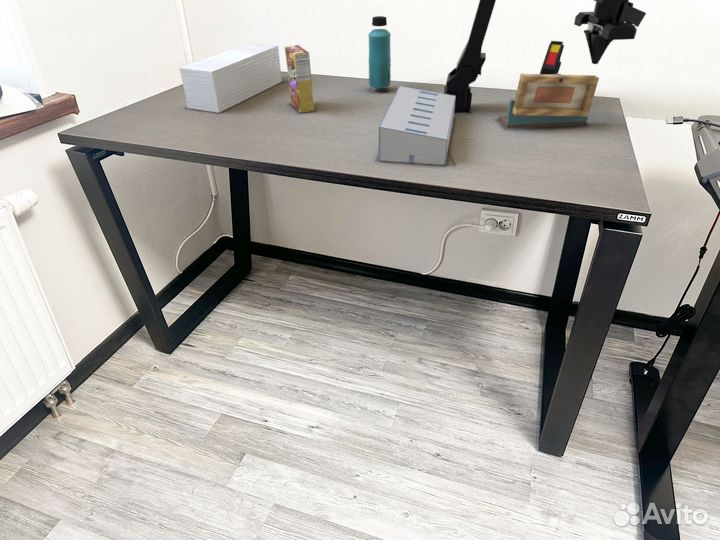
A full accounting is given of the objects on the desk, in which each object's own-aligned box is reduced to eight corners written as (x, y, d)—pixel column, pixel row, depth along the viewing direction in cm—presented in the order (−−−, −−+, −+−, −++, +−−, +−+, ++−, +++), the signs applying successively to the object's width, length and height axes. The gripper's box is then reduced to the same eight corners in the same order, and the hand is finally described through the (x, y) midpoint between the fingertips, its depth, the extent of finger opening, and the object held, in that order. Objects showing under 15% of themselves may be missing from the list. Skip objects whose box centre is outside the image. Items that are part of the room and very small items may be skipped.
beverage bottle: (390, 93, 152) (392, 18, 141) (368, 93, 152) (367, 19, 141) (390, 86, 158) (391, 14, 146) (368, 87, 158) (367, 14, 146)
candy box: (289, 104, 146) (284, 46, 137) (304, 101, 147) (299, 44, 138) (299, 113, 139) (294, 53, 130) (314, 111, 140) (310, 51, 132)
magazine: (557, 86, 149) (564, 40, 137) (547, 119, 144) (554, 74, 131) (544, 85, 151) (550, 39, 138) (533, 117, 145) (538, 73, 133)
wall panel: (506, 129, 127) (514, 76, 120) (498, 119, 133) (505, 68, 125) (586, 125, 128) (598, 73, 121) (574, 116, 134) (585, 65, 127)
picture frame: (515, 115, 122) (523, 76, 117) (512, 112, 124) (520, 73, 119) (588, 116, 124) (599, 78, 119) (584, 113, 126) (595, 75, 121)
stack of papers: (253, 78, 168) (249, 42, 162) (281, 81, 164) (278, 45, 158) (187, 108, 144) (179, 67, 138) (218, 113, 140) (211, 71, 134)
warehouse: (445, 165, 110) (448, 130, 106) (378, 160, 113) (378, 126, 109) (453, 117, 134) (456, 88, 130) (398, 115, 137) (399, 85, 132)
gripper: (669, -4, 110) (647, 72, 119) (625, -15, 125) (608, 53, 134) (619, -2, 109) (600, 74, 118) (580, -14, 125) (566, 55, 134)
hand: (594, 63), depth 126 cm, fingers closed
